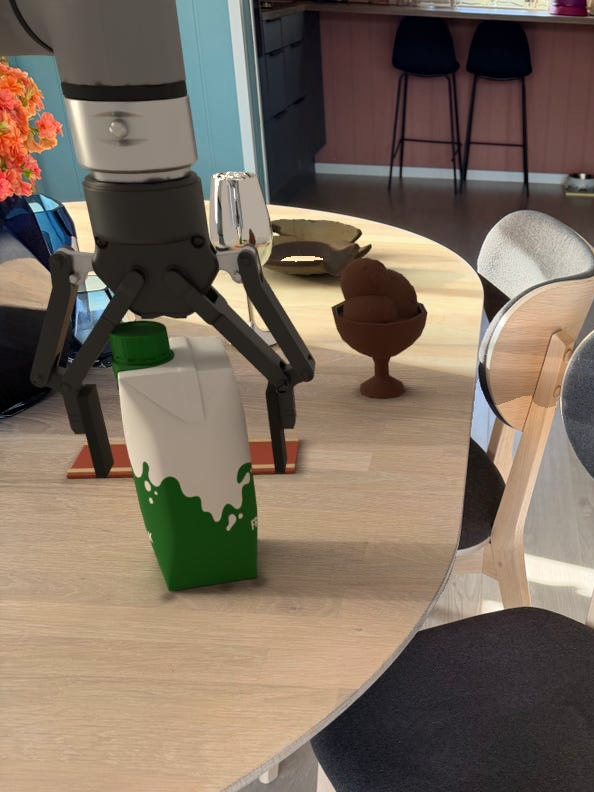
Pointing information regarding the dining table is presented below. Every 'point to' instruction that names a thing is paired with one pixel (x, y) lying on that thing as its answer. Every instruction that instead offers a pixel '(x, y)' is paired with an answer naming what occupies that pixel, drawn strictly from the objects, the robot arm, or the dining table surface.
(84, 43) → the robot arm
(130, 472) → the reddish-brown flat board
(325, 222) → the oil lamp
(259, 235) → the wineglass
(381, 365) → the ice cream bowl
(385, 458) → the dining table surface
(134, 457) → the soya milk
